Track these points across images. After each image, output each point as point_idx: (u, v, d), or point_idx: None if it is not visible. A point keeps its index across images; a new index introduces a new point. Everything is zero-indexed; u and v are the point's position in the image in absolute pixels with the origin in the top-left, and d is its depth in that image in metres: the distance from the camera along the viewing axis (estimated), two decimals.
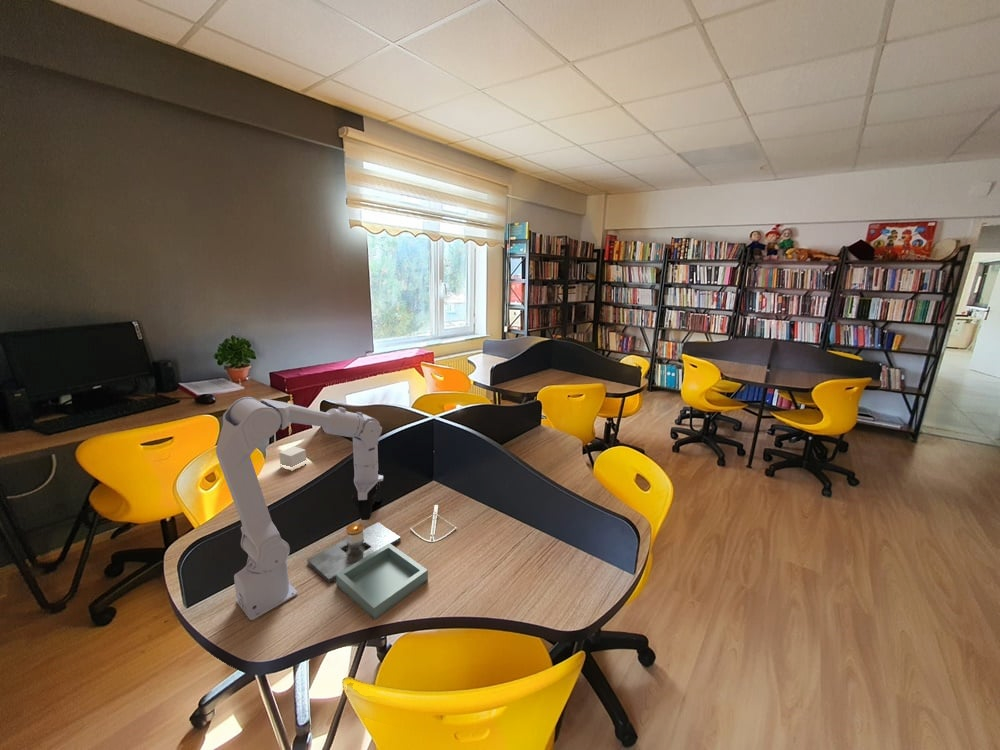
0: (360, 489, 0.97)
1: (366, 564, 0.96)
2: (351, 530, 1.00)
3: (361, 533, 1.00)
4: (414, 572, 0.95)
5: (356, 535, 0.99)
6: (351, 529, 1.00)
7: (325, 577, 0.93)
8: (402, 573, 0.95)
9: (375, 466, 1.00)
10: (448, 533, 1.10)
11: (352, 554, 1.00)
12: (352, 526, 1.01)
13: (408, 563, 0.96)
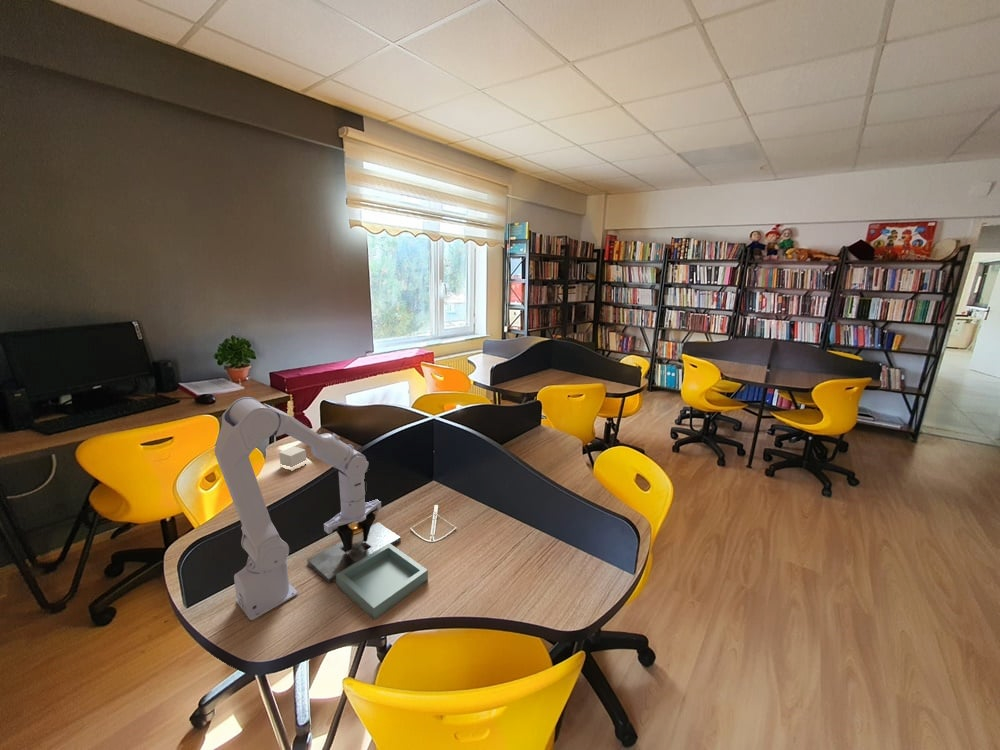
0: (333, 521, 0.97)
1: (366, 564, 0.96)
2: None
3: (361, 533, 1.00)
4: (414, 572, 0.95)
5: (356, 535, 0.99)
6: None
7: (325, 577, 0.93)
8: (402, 573, 0.95)
9: (353, 505, 0.96)
10: (448, 533, 1.10)
11: (352, 554, 1.00)
12: (352, 526, 1.01)
13: (408, 563, 0.96)
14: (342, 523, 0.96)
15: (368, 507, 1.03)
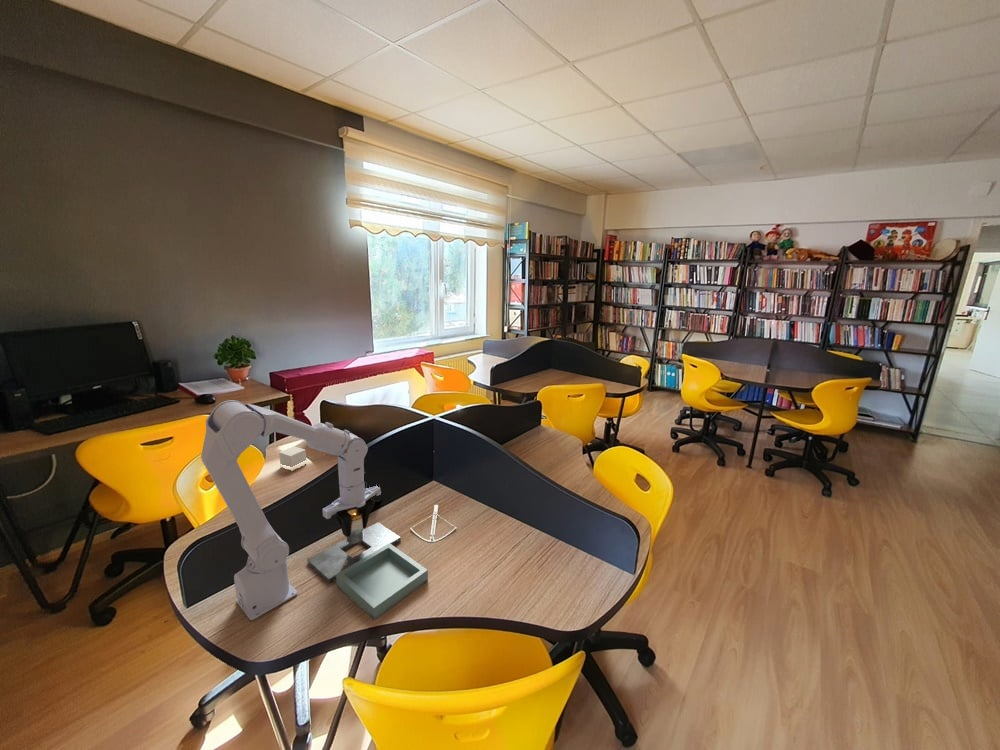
0: (332, 506, 0.96)
1: (366, 564, 0.96)
2: None
3: (360, 519, 0.99)
4: (414, 572, 0.95)
5: (355, 521, 0.98)
6: None
7: (325, 577, 0.93)
8: (402, 573, 0.95)
9: (352, 490, 0.95)
10: (448, 533, 1.10)
11: (351, 540, 0.99)
12: (351, 512, 1.00)
13: (408, 563, 0.96)
14: (341, 508, 0.95)
15: (367, 493, 1.02)
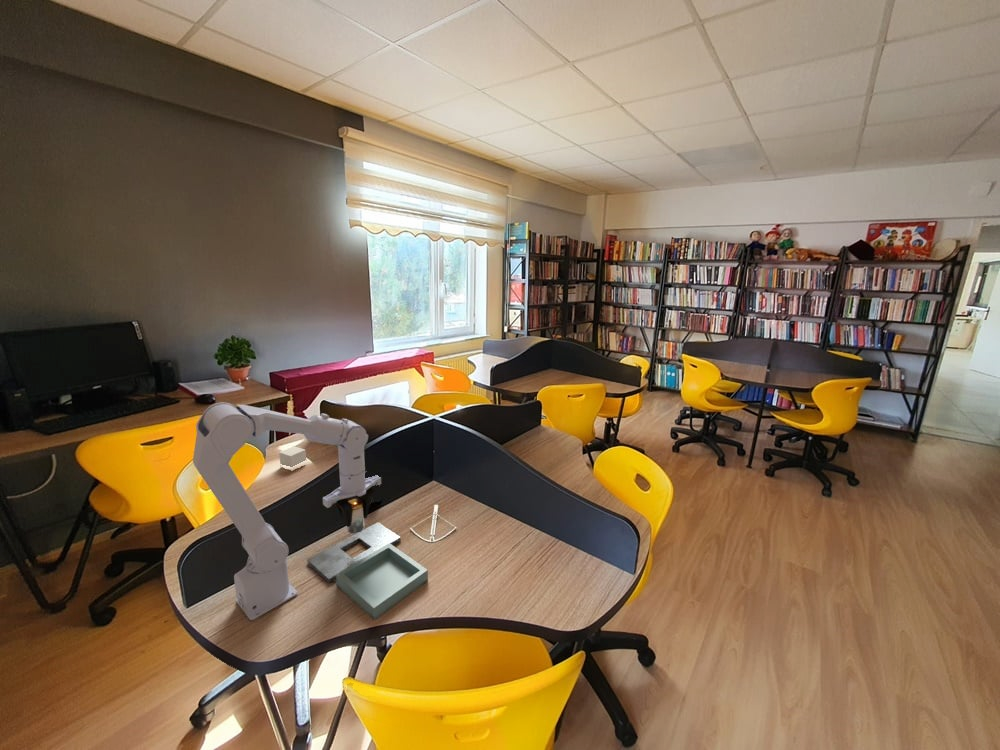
0: (332, 495, 0.94)
1: (366, 564, 0.96)
2: None
3: (361, 508, 0.98)
4: (414, 572, 0.95)
5: (356, 511, 0.97)
6: None
7: (325, 577, 0.93)
8: (402, 573, 0.95)
9: (352, 478, 0.94)
10: (448, 533, 1.10)
11: (351, 530, 0.98)
12: (351, 501, 0.99)
13: (408, 563, 0.96)
14: (341, 497, 0.93)
15: (368, 482, 1.00)
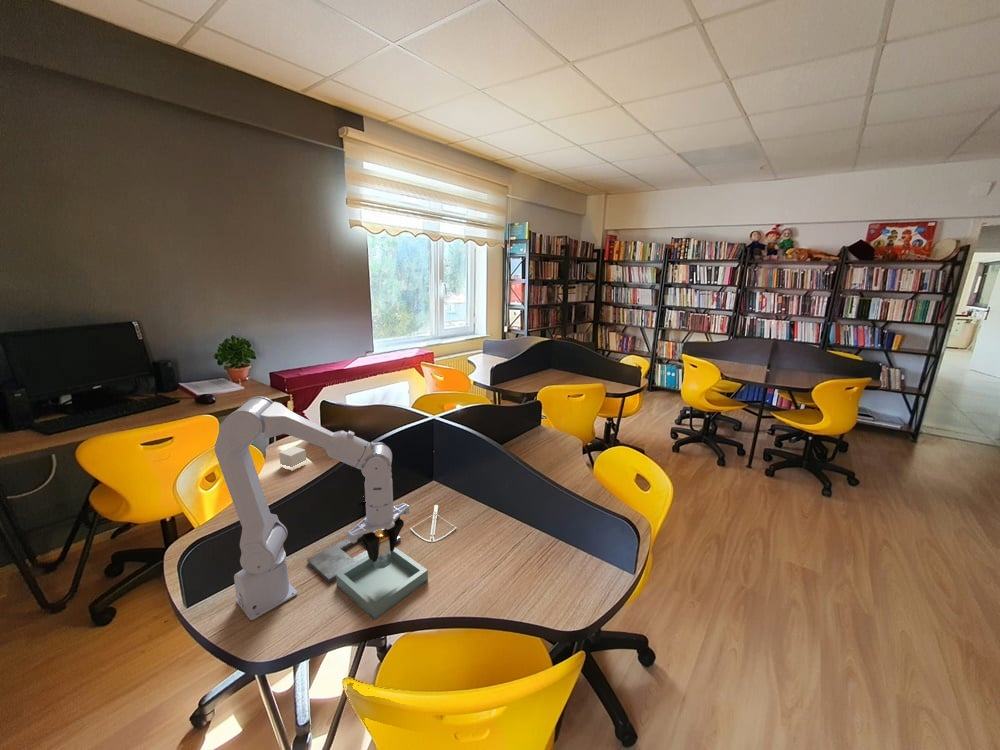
0: (358, 528, 0.85)
1: (366, 564, 0.96)
2: None
3: (387, 541, 0.89)
4: (414, 572, 0.95)
5: (382, 544, 0.88)
6: None
7: (325, 577, 0.93)
8: (402, 573, 0.95)
9: (380, 510, 0.85)
10: (448, 533, 1.10)
11: (377, 565, 0.89)
12: (377, 533, 0.90)
13: (408, 563, 0.96)
14: (368, 531, 0.84)
15: (395, 512, 0.91)
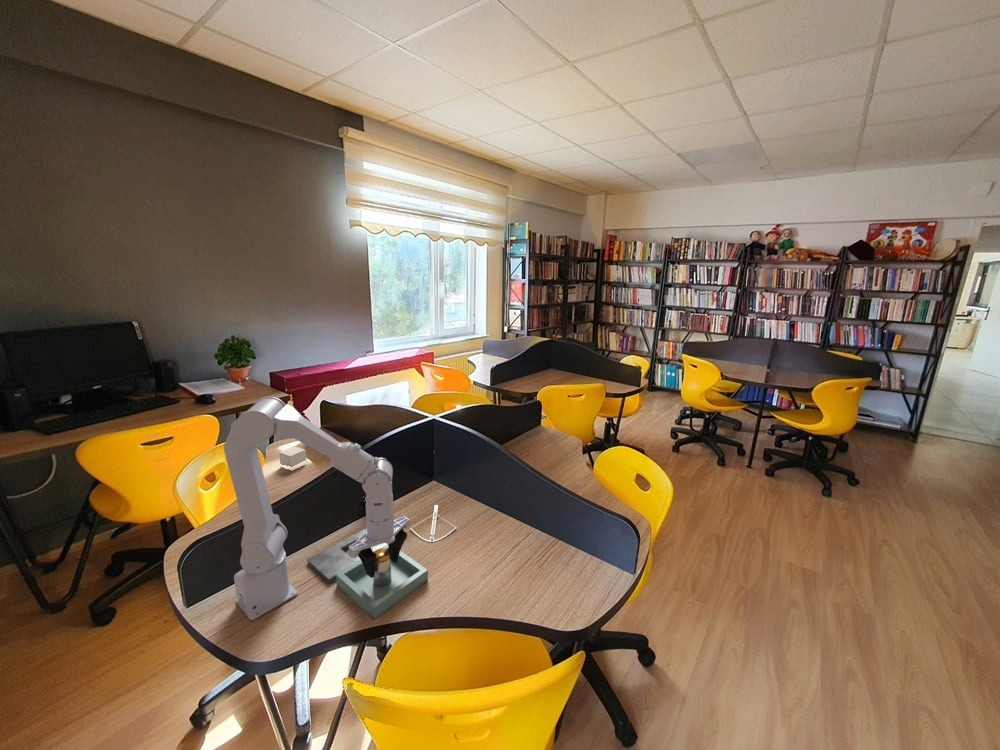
0: (358, 543, 0.86)
1: None
2: (377, 557, 0.90)
3: (388, 560, 0.90)
4: (414, 572, 0.95)
5: (382, 563, 0.89)
6: (377, 556, 0.90)
7: (325, 577, 0.93)
8: (402, 573, 0.95)
9: (381, 525, 0.86)
10: (448, 533, 1.10)
11: (378, 583, 0.90)
12: (377, 552, 0.91)
13: (408, 563, 0.96)
14: (369, 546, 0.85)
15: (396, 526, 0.92)
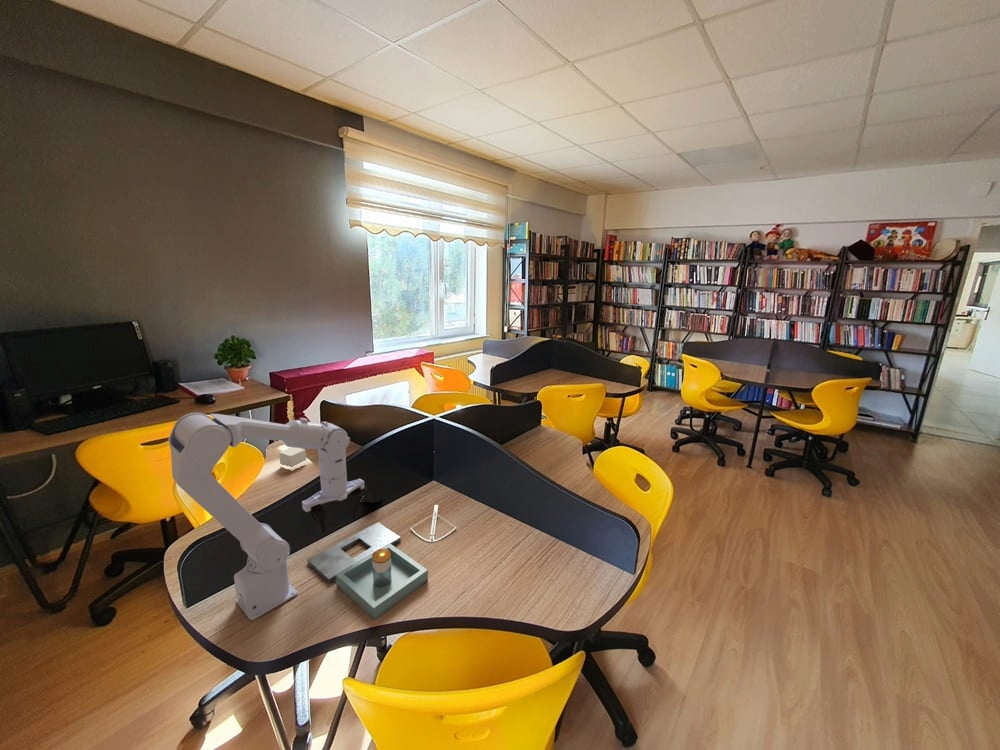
0: (312, 499, 0.92)
1: (366, 564, 0.96)
2: (378, 557, 0.90)
3: (388, 561, 0.90)
4: (414, 572, 0.95)
5: (383, 564, 0.89)
6: (377, 556, 0.90)
7: (325, 577, 0.93)
8: (402, 573, 0.95)
9: (332, 482, 0.92)
10: (448, 533, 1.10)
11: (378, 584, 0.90)
12: (378, 552, 0.91)
13: (408, 563, 0.96)
14: (321, 501, 0.92)
15: (350, 486, 0.98)
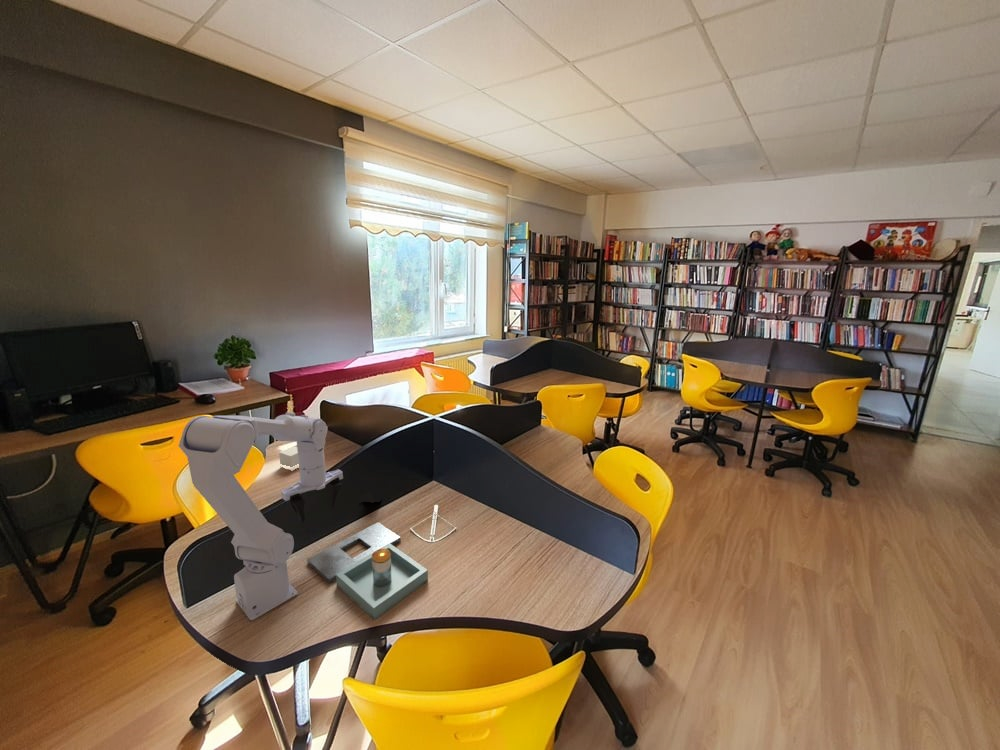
0: (291, 489, 0.96)
1: (366, 564, 0.96)
2: (377, 557, 0.90)
3: (388, 561, 0.90)
4: (414, 572, 0.95)
5: (383, 564, 0.89)
6: (377, 556, 0.90)
7: (325, 577, 0.93)
8: (402, 573, 0.95)
9: (311, 472, 0.96)
10: (448, 533, 1.10)
11: (378, 584, 0.90)
12: (378, 552, 0.91)
13: (408, 563, 0.96)
14: (300, 491, 0.96)
15: (329, 477, 1.02)
